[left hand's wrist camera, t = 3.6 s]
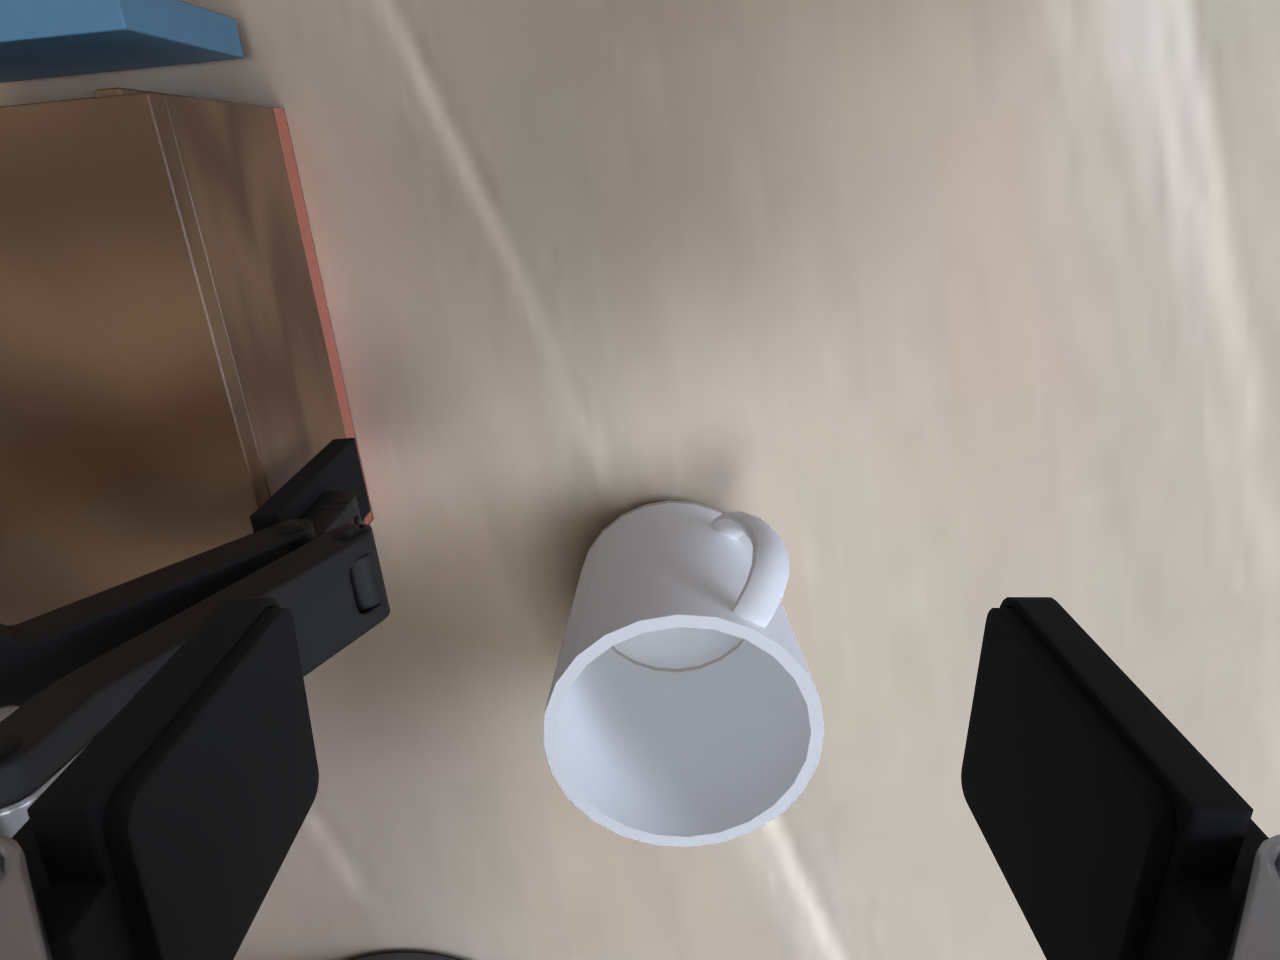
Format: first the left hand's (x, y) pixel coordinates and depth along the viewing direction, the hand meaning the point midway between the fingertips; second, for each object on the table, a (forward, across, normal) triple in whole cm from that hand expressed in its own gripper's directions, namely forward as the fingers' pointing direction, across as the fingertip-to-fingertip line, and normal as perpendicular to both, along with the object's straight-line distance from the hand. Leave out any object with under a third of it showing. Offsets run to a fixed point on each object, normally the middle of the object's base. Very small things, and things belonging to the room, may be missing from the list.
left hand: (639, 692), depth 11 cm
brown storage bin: (+23, -17, 0) cm, 29 cm away
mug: (+23, +2, -10) cm, 25 cm away
